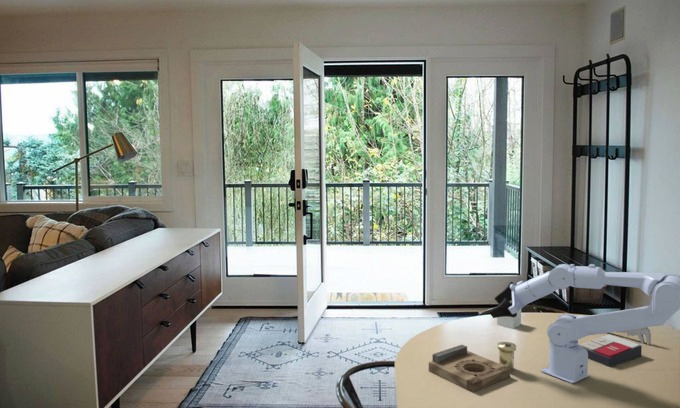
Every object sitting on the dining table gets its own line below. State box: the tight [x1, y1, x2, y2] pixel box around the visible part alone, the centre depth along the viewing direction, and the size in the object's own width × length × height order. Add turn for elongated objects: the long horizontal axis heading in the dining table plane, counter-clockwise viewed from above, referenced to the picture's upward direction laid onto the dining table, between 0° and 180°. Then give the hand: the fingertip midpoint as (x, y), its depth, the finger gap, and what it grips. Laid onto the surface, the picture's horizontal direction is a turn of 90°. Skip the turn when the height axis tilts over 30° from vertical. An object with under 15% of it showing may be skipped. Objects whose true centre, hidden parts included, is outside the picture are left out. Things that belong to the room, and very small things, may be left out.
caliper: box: [616, 327, 652, 346], centre depth 174 cm, size 20×1×6 cm, turn 36°
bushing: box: [497, 341, 517, 373], centre depth 150 cm, size 5×5×7 cm
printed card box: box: [578, 333, 643, 368], centre depth 159 cm, size 11×4×15 cm
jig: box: [428, 344, 511, 393], centre depth 147 cm, size 16×15×4 cm
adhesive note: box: [496, 308, 522, 329], centre depth 186 cm, size 6×6×6 cm
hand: (494, 307), depth 157 cm, fingers open, 7 cm apart
